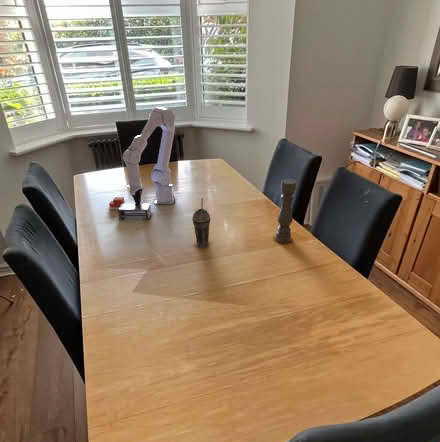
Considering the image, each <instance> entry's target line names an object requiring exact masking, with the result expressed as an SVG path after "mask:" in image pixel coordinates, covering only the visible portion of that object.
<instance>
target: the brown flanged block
mask: <svg viewBox="0 0 440 442" xmlns="http://www.w3.org/2000/svg"><path fill="white" fill-rule="evenodd" d="M151 209H152V208H151V203H141V204H136V203H125V204H121V205H120V207H119V208H118V209H117V213H118V219H119V220H123V218H125V217H126V218H129V217H131V218H134V217H138V218H140V217H141V218H143V217H144V218H145V220H150V218H151V215H152V210H151Z"/></svg>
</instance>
